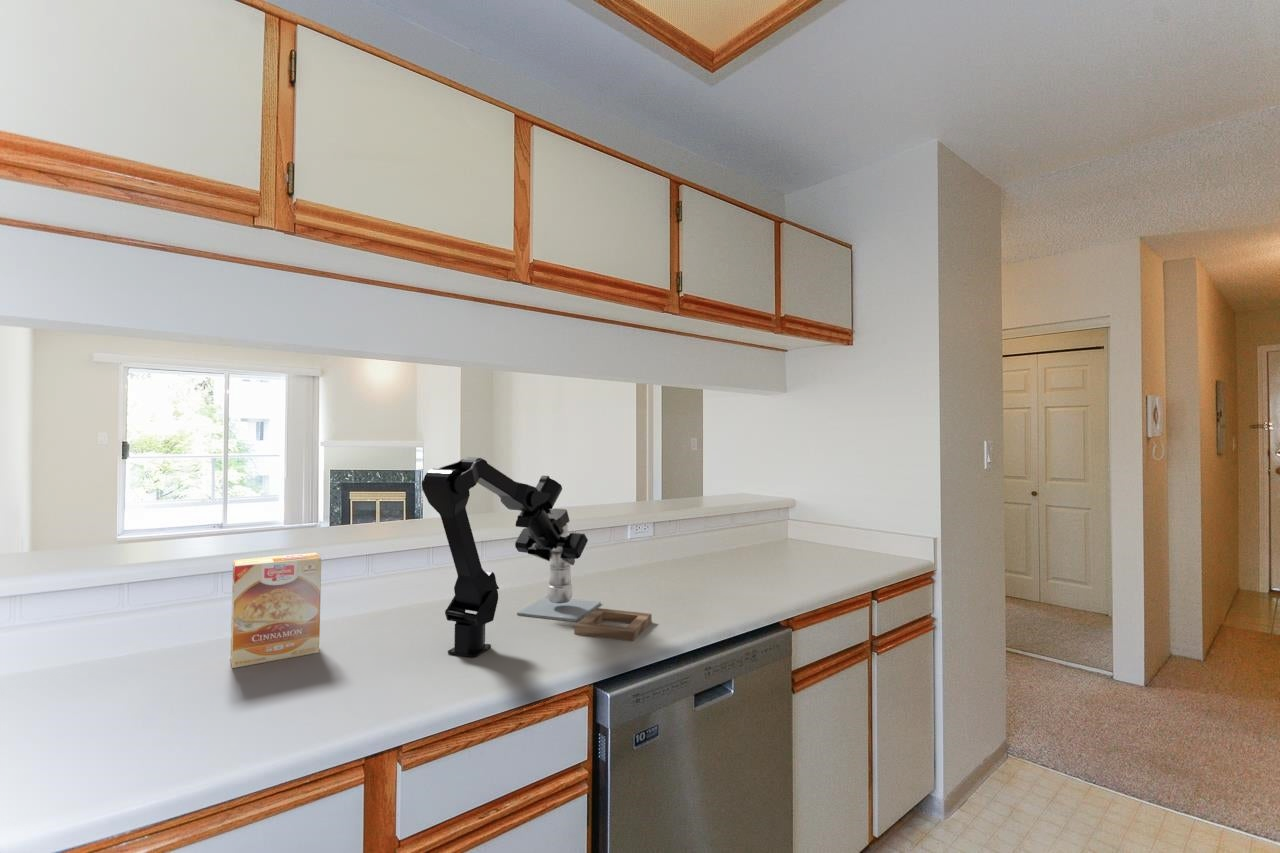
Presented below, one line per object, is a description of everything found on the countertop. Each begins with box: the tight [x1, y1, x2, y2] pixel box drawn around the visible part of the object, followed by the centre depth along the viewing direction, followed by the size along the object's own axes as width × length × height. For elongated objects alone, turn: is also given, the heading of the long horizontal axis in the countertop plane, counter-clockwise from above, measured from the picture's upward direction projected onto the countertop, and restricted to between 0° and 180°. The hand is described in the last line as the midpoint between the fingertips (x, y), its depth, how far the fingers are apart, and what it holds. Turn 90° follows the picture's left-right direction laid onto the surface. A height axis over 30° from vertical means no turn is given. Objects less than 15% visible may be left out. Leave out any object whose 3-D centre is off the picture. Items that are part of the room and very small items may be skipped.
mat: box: [516, 595, 602, 623], centre depth 155 cm, size 16×16×1 cm
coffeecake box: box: [230, 551, 322, 669], centre depth 121 cm, size 15×7×20 cm, turn 126°
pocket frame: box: [573, 607, 653, 642], centre depth 141 cm, size 14×14×2 cm
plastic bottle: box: [546, 523, 573, 604], centre depth 155 cm, size 6×7×20 cm
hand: (563, 562), depth 156 cm, fingers closed on plastic bottle, 6 cm apart
